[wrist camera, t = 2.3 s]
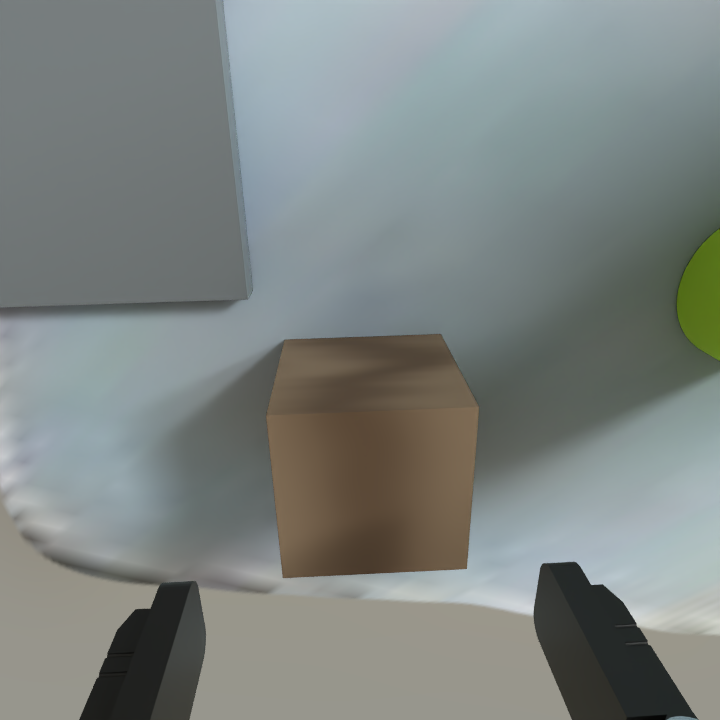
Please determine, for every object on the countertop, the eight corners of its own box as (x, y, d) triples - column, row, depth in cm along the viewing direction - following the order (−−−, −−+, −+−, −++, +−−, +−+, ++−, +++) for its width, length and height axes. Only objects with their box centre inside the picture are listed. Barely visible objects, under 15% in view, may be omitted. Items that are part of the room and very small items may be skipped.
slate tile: (209, -132, 15) (198, -154, 14) (252, 289, 19) (247, 299, 18) (-241, -130, 14) (-289, -151, 13) (-84, 300, 19) (-110, 311, 18)
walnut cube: (440, 333, 20) (479, 407, 15) (434, 463, 23) (466, 568, 17) (284, 338, 20) (266, 415, 15) (295, 469, 23) (283, 577, 17)
